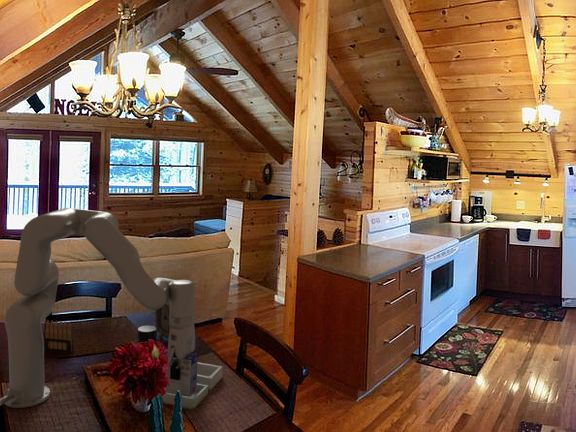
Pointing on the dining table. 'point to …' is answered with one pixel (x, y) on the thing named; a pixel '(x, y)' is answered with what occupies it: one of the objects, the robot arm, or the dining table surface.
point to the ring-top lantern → (163, 320)
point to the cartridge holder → (208, 374)
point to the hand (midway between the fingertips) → (180, 374)
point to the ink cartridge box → (184, 376)
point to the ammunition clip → (58, 338)
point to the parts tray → (189, 401)
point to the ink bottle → (147, 333)
